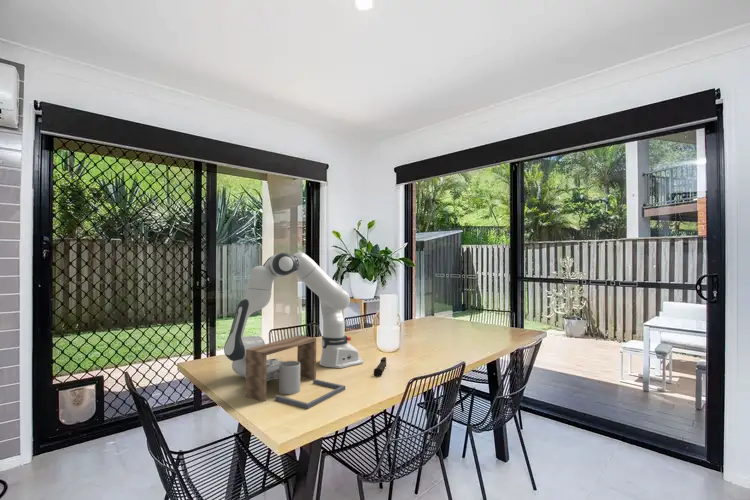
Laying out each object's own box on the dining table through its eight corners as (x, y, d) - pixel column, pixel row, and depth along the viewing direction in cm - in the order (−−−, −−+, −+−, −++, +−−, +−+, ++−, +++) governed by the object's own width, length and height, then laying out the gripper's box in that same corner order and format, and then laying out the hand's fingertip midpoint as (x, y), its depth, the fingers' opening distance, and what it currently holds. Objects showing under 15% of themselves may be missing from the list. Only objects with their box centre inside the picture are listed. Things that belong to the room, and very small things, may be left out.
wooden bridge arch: (245, 396, 146) (246, 349, 147) (299, 375, 173) (299, 335, 173) (263, 401, 141) (264, 352, 142) (315, 379, 167) (316, 337, 168)
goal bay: (275, 399, 143) (275, 396, 143) (315, 382, 163) (315, 379, 163) (307, 409, 135) (307, 404, 135) (345, 389, 155) (345, 385, 155)
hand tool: (381, 377, 171) (382, 367, 171) (373, 376, 172) (373, 366, 172) (390, 365, 190) (390, 356, 190) (382, 365, 191) (382, 356, 191)
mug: (297, 394, 149) (297, 367, 149) (276, 394, 149) (276, 366, 149) (304, 384, 161) (304, 358, 161) (284, 384, 161) (284, 358, 161)
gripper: (242, 369, 155) (265, 374, 148) (278, 357, 172) (301, 362, 165) (242, 384, 155) (265, 390, 148) (278, 371, 172) (301, 376, 165)
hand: (284, 375), depth 157 cm, fingers closed, pressing on mug
